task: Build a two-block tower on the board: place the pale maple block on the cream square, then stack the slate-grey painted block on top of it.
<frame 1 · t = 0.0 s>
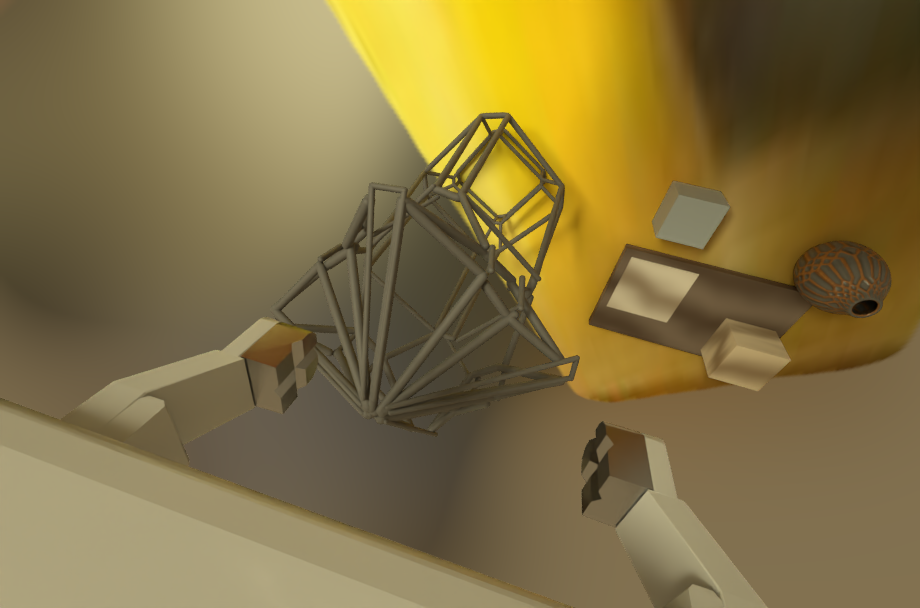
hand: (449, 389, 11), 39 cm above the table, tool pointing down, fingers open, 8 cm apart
geometric lantern: (499, 172, 46), on the table
top block: (684, 206, 43), on the table
vase: (823, 258, 43), on the table
board: (690, 307, 50), on the table
block: (736, 341, 51), point 1 cm above the table, touching board
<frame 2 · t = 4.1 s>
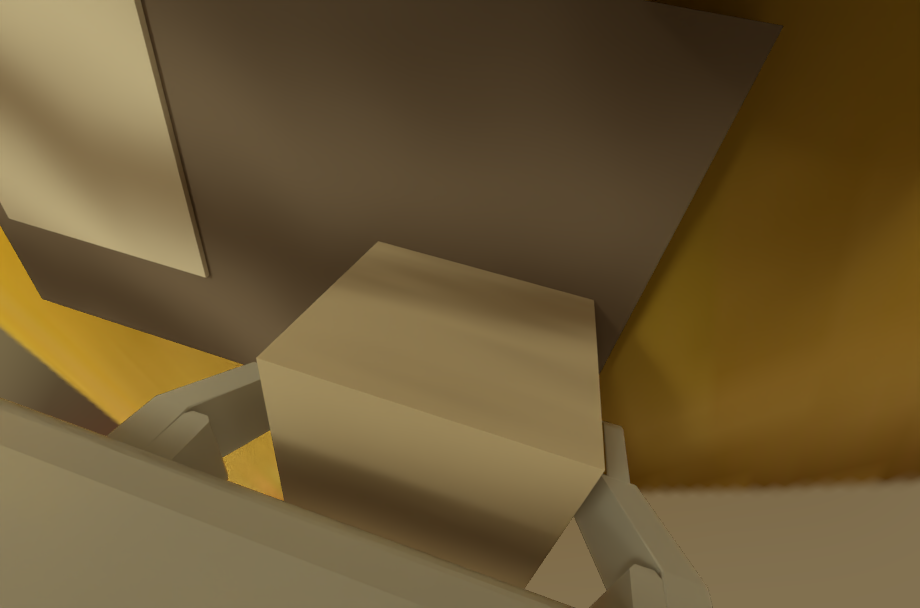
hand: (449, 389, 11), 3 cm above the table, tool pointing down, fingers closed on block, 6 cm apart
board: (272, 210, 12), on the table
block: (463, 351, 12), point 1 cm above the table, touching board, gripper
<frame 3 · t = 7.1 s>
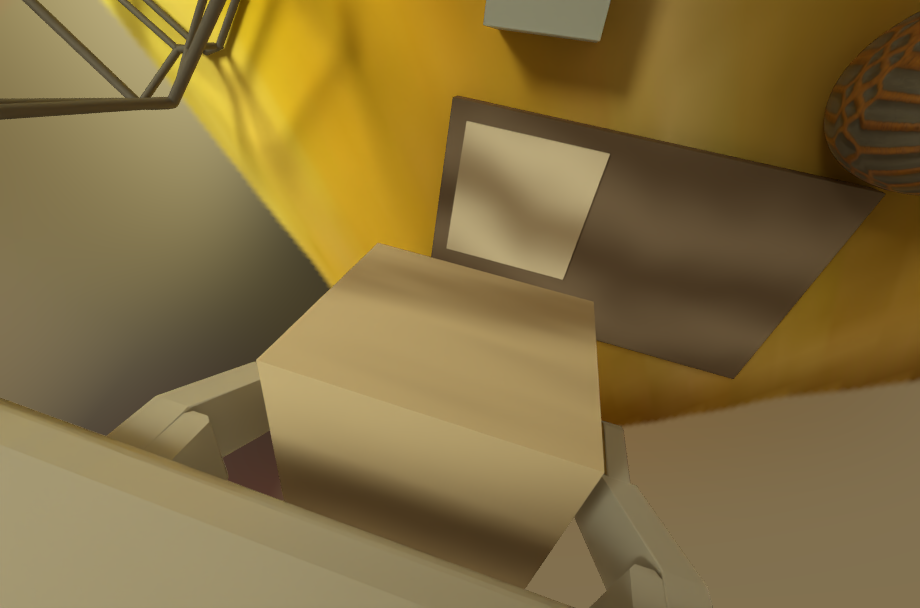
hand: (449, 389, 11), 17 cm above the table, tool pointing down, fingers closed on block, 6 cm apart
vase: (890, 90, 18), on the table
board: (606, 246, 25), on the table
block: (463, 352, 12), point 15 cm above the table, touching gripper
when the fingers open (4 cm above the table, at t = 9.9 s): block stays where it is, resting on board.
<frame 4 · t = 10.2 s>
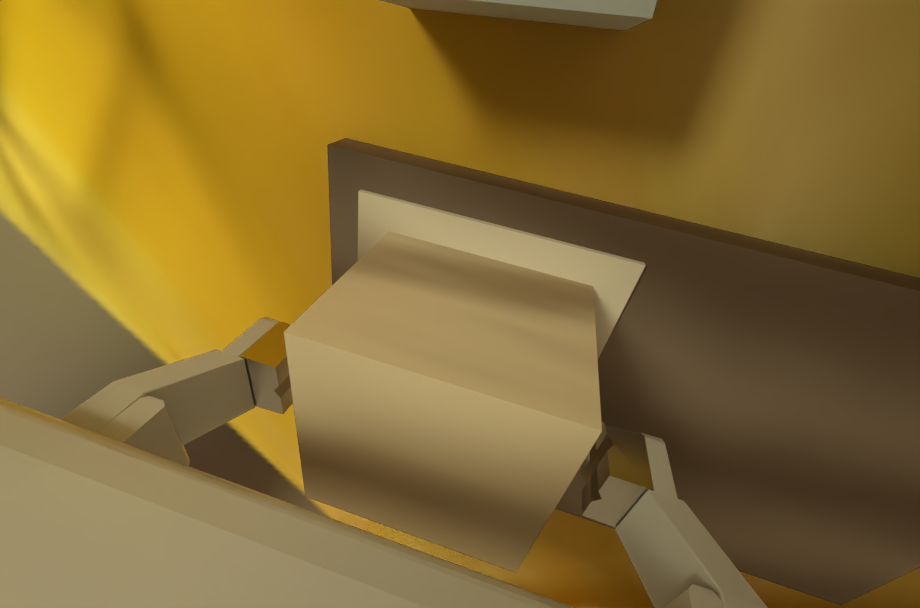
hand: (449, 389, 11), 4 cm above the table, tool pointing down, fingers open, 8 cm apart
board: (630, 397, 14), on the table
block: (469, 337, 13), point 1 cm above the table, touching board
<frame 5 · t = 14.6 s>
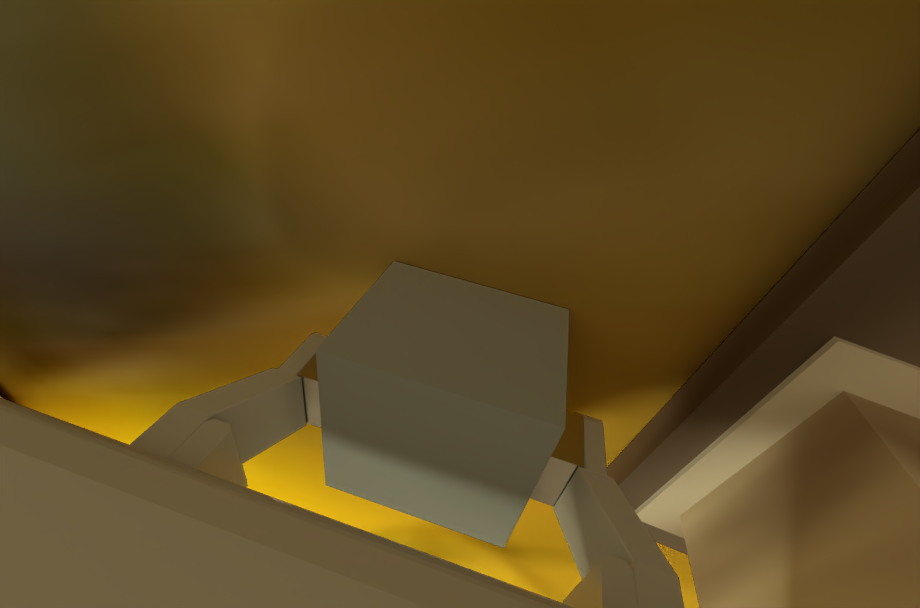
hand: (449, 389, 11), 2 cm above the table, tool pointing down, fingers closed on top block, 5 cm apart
top block: (464, 351, 12), on the table, touching gripper
block: (860, 507, 10), point 1 cm above the table, touching board
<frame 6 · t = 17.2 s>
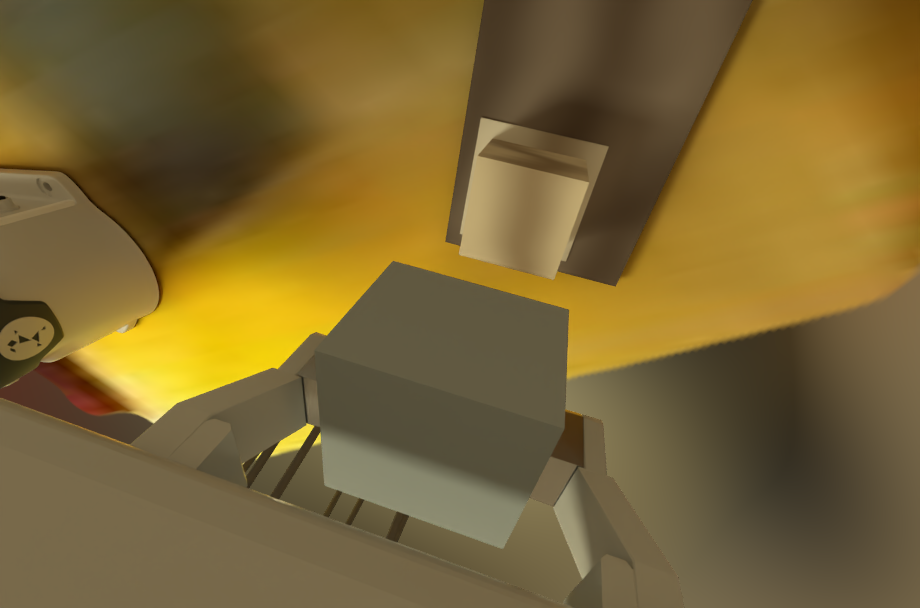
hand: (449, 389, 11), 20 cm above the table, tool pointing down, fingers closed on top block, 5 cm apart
geometric lantern: (381, 370, 41), on the table
top block: (463, 351, 12), point 18 cm above the table, touching gripper
board: (578, 99, 23), on the table
block: (526, 195, 26), point 1 cm above the table, touching board
when the fingers open (8 cm above the table, at t = 20.3 s): top block stays where it is, resting on block.
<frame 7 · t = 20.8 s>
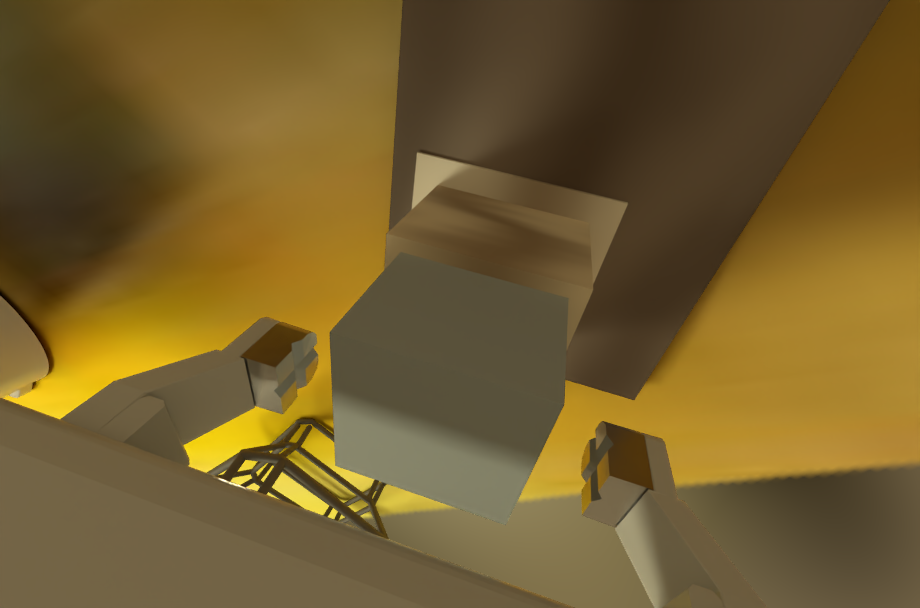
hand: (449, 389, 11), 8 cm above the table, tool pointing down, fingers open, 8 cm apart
geometric lantern: (324, 461, 32), on the table
top block: (467, 339, 13), point 6 cm above the table, touching block
board: (577, 123, 14), on the table
block: (495, 269, 17), point 1 cm above the table, touching board, top block
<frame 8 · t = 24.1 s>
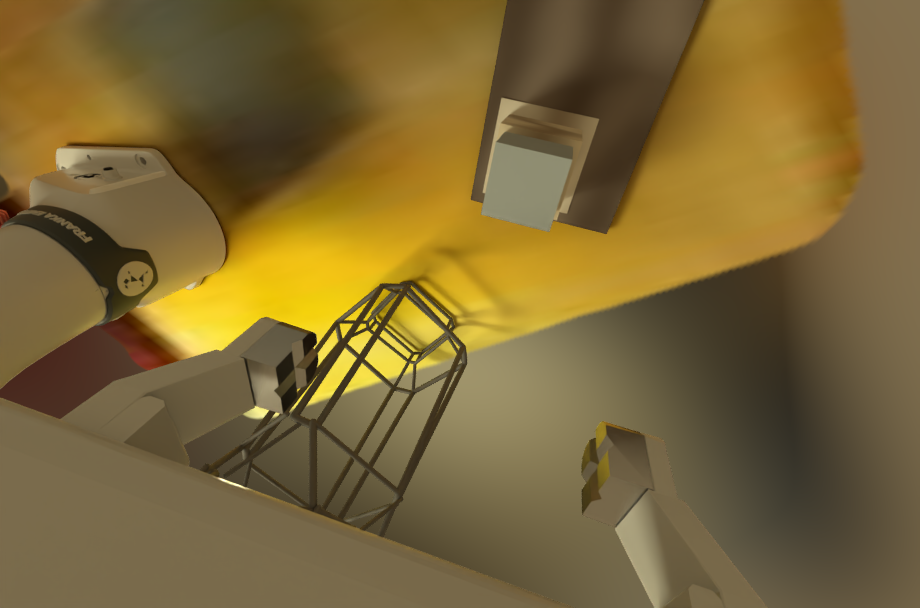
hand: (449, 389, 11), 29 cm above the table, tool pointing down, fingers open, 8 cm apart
geometric lantern: (411, 318, 48), on the table
top block: (529, 173, 29), point 6 cm above the table, touching block
board: (576, 83, 31), on the table
block: (535, 159, 33), point 1 cm above the table, touching board, top block
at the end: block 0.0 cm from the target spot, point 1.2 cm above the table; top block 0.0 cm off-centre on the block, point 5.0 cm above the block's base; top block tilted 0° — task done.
